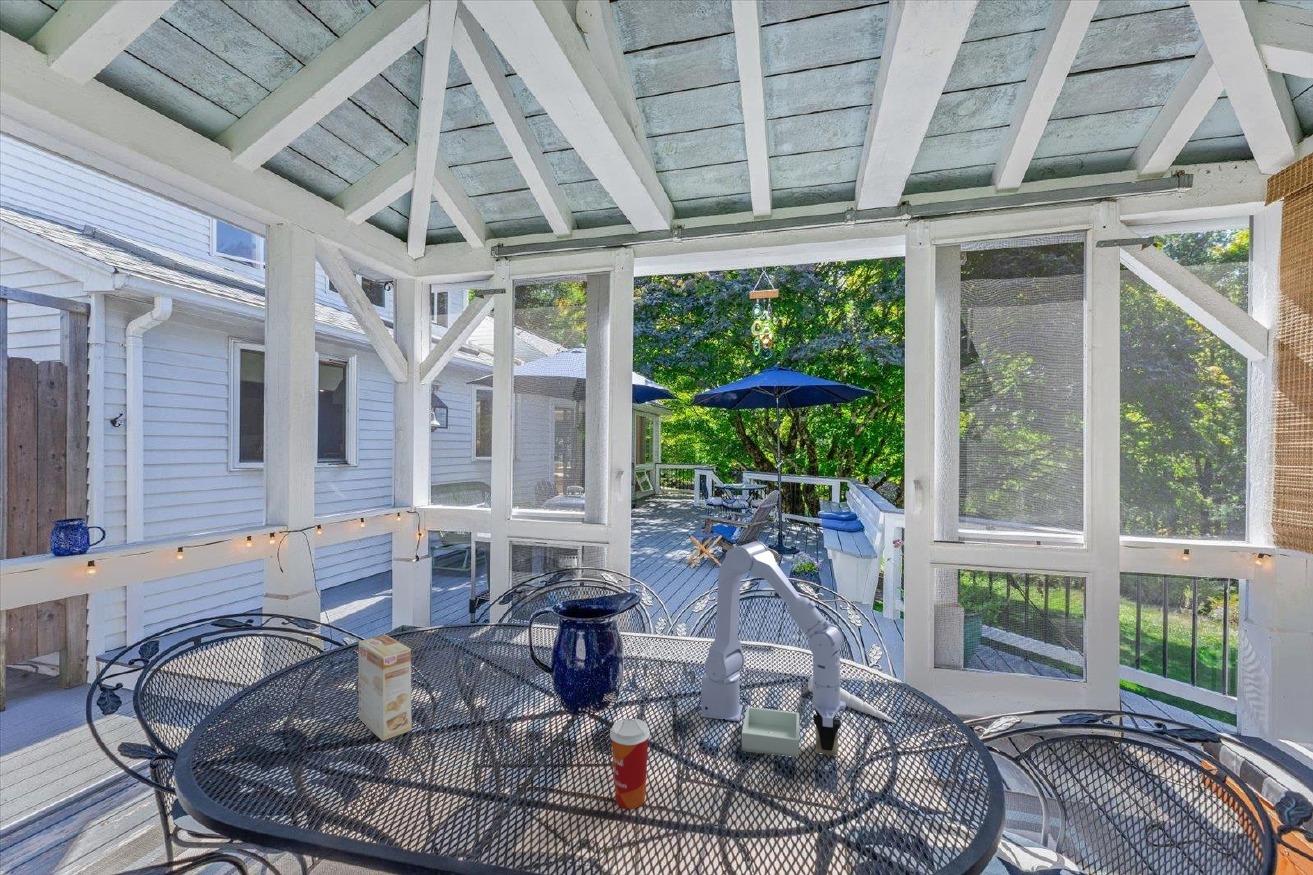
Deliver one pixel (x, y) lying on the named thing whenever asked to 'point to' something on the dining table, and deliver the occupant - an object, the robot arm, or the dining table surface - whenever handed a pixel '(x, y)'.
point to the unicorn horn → (856, 703)
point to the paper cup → (630, 761)
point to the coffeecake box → (384, 686)
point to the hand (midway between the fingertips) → (826, 743)
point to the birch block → (827, 752)
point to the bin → (770, 721)
